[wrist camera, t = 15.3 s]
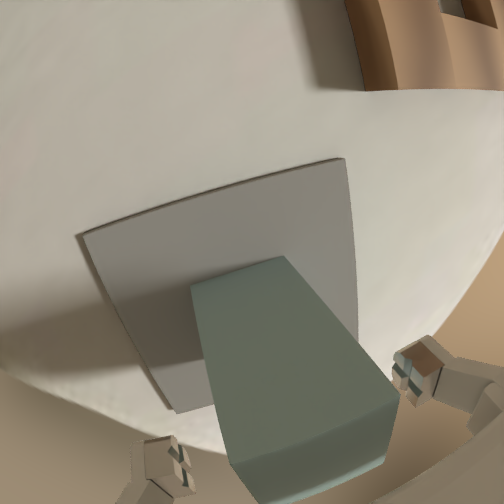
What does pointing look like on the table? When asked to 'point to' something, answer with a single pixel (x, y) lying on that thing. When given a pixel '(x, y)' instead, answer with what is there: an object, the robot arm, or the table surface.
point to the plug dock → (429, 44)
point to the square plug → (289, 384)
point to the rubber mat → (223, 262)
